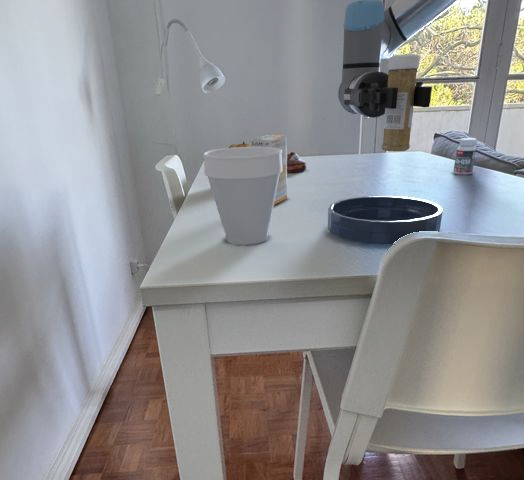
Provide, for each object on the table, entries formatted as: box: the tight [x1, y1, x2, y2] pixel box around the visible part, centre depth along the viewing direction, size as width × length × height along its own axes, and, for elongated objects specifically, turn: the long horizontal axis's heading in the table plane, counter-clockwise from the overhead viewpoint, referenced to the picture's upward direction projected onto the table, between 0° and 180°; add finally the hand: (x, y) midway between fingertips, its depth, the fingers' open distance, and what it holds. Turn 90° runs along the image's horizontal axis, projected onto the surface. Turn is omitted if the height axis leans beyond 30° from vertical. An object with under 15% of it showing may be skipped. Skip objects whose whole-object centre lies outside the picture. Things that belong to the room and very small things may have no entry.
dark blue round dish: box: [327, 195, 444, 245], centre depth 79 cm, size 18×18×4 cm
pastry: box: [287, 151, 307, 173], centre depth 137 cm, size 8×8×5 cm
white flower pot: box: [202, 147, 283, 246], centre depth 76 cm, size 12×12×14 cm
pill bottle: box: [452, 137, 478, 176], centre depth 123 cm, size 5×5×8 cm
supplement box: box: [249, 134, 288, 206], centre depth 100 cm, size 8×5×13 cm, turn 154°
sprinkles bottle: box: [381, 53, 420, 152], centre depth 75 cm, size 5×5×13 cm
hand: (411, 97), depth 70 cm, fingers closed on sprinkles bottle, 4 cm apart
